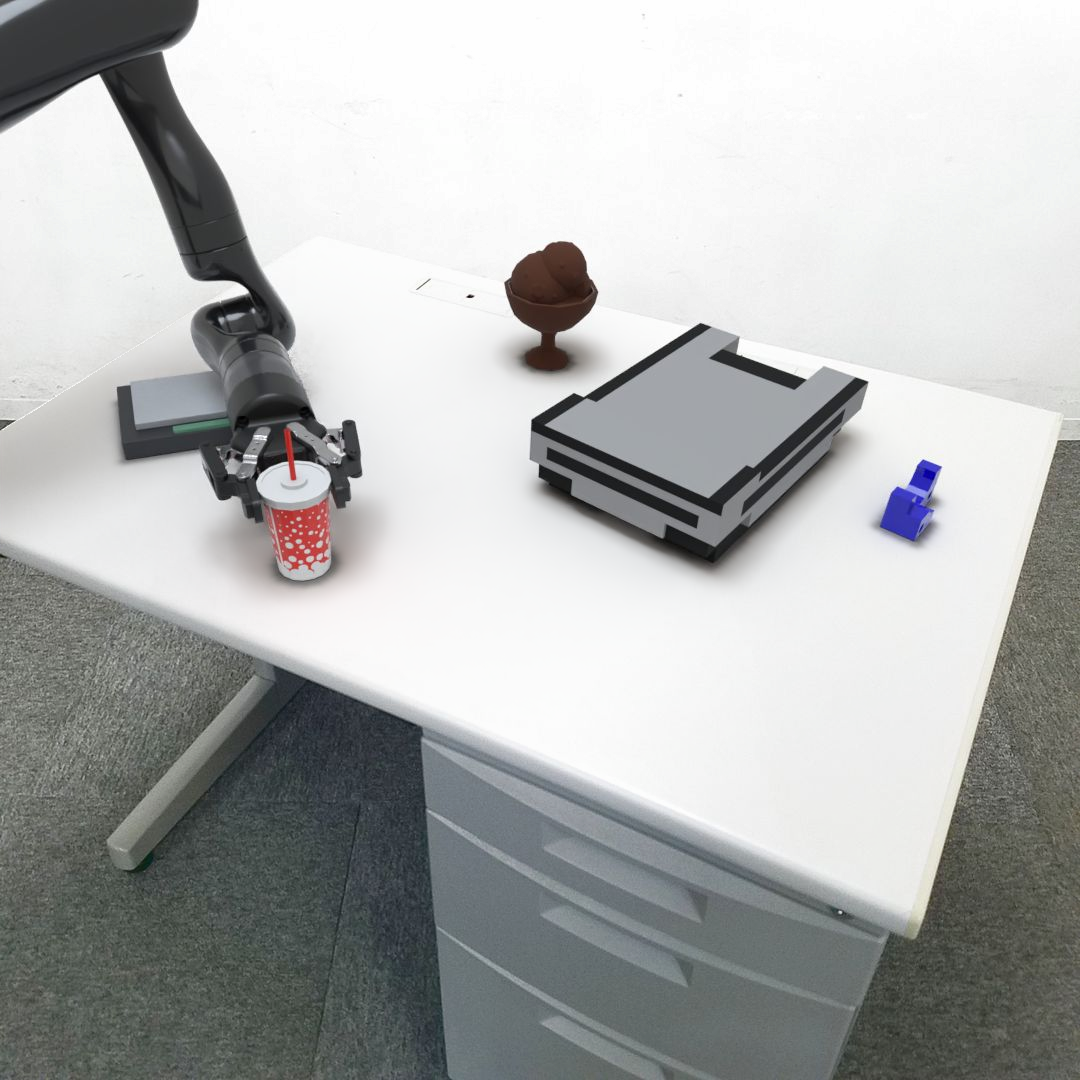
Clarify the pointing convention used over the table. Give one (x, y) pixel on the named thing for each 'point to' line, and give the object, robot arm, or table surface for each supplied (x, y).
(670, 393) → the game console
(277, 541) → the beverage cup
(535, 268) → the ice cream bowl
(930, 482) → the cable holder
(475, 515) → the table surface
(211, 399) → the scale
